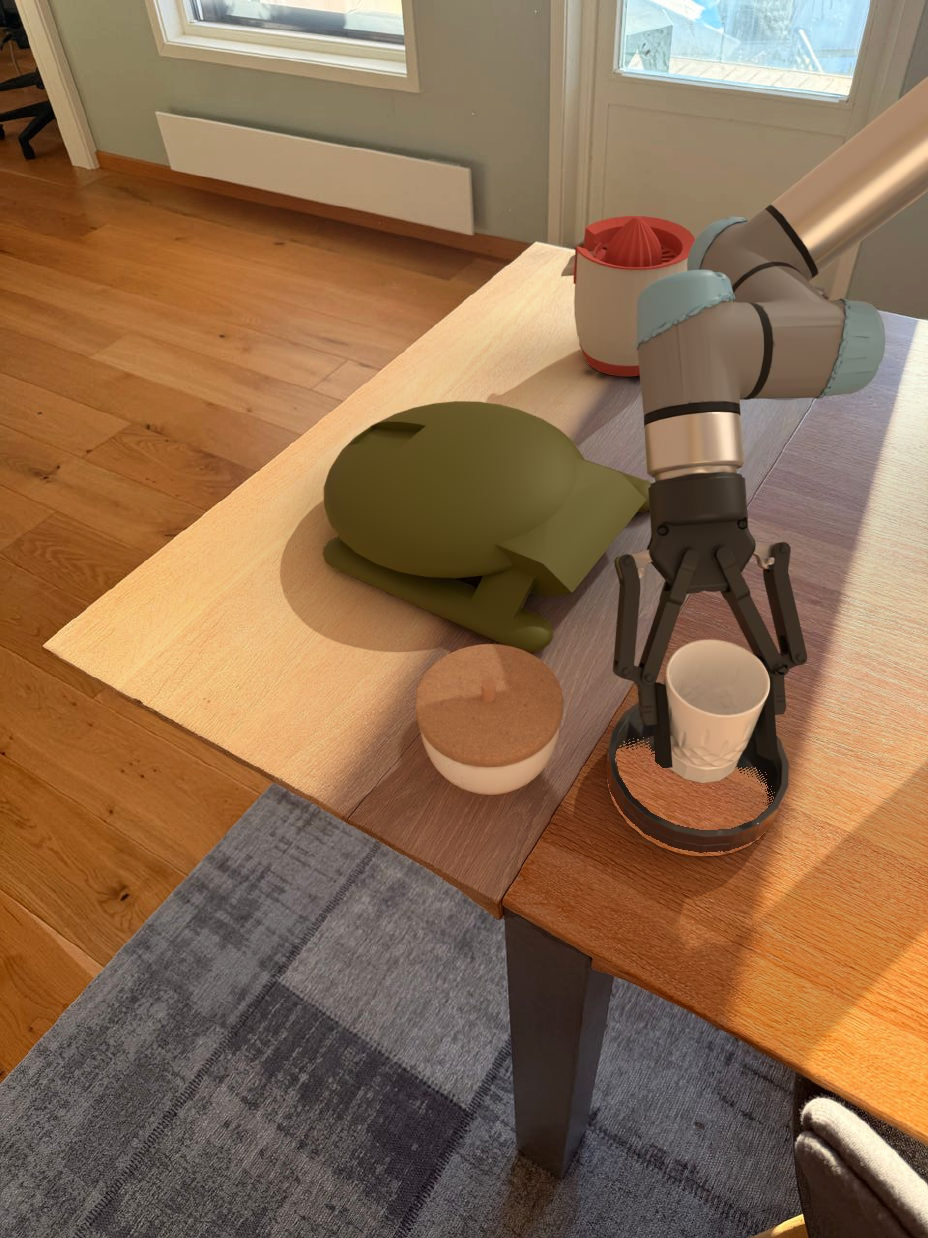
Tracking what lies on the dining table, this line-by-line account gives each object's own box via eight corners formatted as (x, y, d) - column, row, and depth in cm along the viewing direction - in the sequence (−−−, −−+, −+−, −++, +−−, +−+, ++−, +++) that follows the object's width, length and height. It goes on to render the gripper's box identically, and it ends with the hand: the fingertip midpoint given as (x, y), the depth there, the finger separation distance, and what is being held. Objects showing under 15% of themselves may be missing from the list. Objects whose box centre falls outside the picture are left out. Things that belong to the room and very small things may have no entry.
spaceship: (667, 499, 108) (678, 429, 101) (537, 667, 91) (538, 598, 84) (428, 415, 122) (422, 350, 115) (275, 547, 105) (258, 480, 98)
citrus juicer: (571, 323, 138) (577, 186, 123) (687, 336, 133) (707, 197, 119) (546, 377, 127) (549, 235, 113) (670, 393, 123) (689, 248, 109)
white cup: (696, 806, 74) (716, 733, 67) (633, 741, 79) (645, 667, 71) (765, 760, 77) (792, 685, 70) (700, 700, 81) (718, 624, 74)
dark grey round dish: (783, 729, 84) (791, 705, 82) (777, 875, 74) (786, 853, 72) (619, 700, 87) (622, 676, 85) (593, 836, 77) (595, 814, 75)
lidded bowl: (522, 842, 77) (522, 769, 69) (397, 784, 82) (383, 709, 74) (582, 735, 85) (588, 658, 77) (464, 688, 89) (459, 610, 81)
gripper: (804, 472, 76) (823, 742, 77) (561, 491, 76) (581, 762, 76) (843, 459, 69) (863, 758, 69) (573, 480, 68) (596, 780, 69)
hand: (715, 760), depth 73 cm, fingers closed on white cup, 8 cm apart
